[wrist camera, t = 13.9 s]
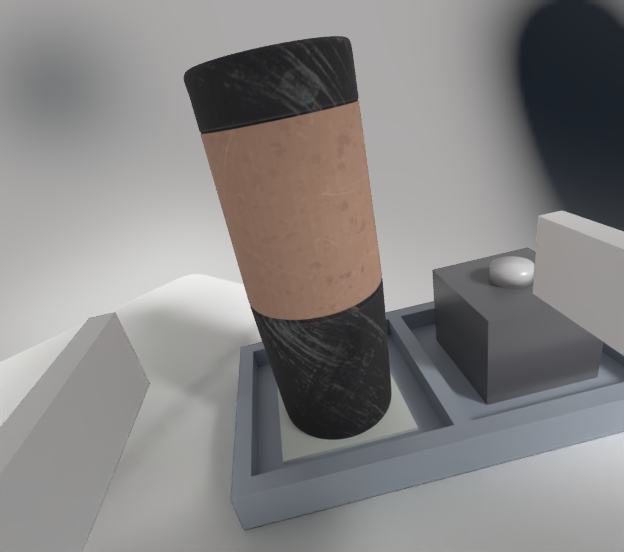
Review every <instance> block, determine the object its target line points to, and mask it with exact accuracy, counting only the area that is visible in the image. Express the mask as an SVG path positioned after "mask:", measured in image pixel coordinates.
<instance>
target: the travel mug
mask: <svg viewBox="0 0 624 552" xmlns="http://www.w3.org/2000/svg"><path fill="white" fill-rule="evenodd" d="M184 82H185V85H186V88H187V91H188V93H189V96H190V100H191V103H192V107H193V110H194V114H195V117H196V120H197V124H198V127H199V131H200V132H201V138H202V141H203V144H204V148H205V151H206V155H207V158H208V162H209V165H210V169H211V172H212V176H213V179H214V182H215V186H216V190H217V193H218V196H219V200H220V203H221V207H222V210H223V214H224V217H225V220H226V224H227V227H228V231H229V234H230V238H231V241H232V244H233V248H234V252H235V255H236V259H237V262H238V266H239V269H240V272H241V276H242V279H243V283H244V286H245V290H246V293H247V297H248V300H249V303H250V305H251V309H252V312H253V315H254V318H255V321H256V324H257V327H258V330H259V333H260V336H261V339H262V342H263V345H264V348H265V351H266V354H267V357H268V359H269V362H270V365H271V368H272V371H273V374H274V377H275V380H276V383H277V386H278V389H279V392H280V395H281V398H282V400H283V403H284V406H285V409H286V411H287V414H288V416H289V418H290V420H291V421H292V422H293V424H294V425H295V426H296V427H297V428H298V429H299V430H301V431H302V432H304V433H306V434H308V435H310V436H313V437H316V438H320V439H327V440H338V439H346V438H350V437H354V436H356V435H359V434H361V433H364V432H366V431H367V430H369V429H371V428H372V427H373V426H375V425H376V424H377V423H378V422H379V421H380V420H381V419H382V418H383V417H384V415H385V414H386V412H387V410H388V408H389V405H390V402H391V396H392V392H391V375H390V363H389V351H388V340H387V328H386V316H385V305H384V294H383V282H382V272H381V264H380V256H379V249H378V241H377V234H376V226H375V219H374V212H373V204H372V196H371V189H370V181H369V174H368V166H367V158H366V151H365V144H364V137H363V129H362V121H361V113H360V106H359V101H358V91H357V84H356V75H355V68H354V61H353V53H352V47H351V43H350V40H349V39H348V38H346V37H340V36H331V37H319V38H310V39H303V40H297V41H291V42H285V43H280V44H274V45H269V46H265V47H260V48H256V49H251V50H247V51H243V52H239V53H235V54H231V55H227V56H224V57H220V58H217V59H214V60H211V61H208V62H205V63H202V64H199V65H197V66H194V67H192V68H191V69H189V70H187V71H186V72H185V74H184Z"/></svg>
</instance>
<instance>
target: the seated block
mask: <svg viewBox="0 0 624 552" xmlns="http://www.w3.org/2000/svg"><path fill="white" fill-rule="evenodd" d="M535 255H536V252H535V251H533V250H531V249H529V248H524V249H520V250H515V251H511V252H507V253H502V254H498V255H494V256H490V257H486V258H481V259H477V260H473V261H468V262H465V263H460V264H456V265H451V266H447V267H443V268H438V269H434V270H433V287H434V305H435V323H436V340H437V341H438V342H439V344H440V345H441V346H442V348H443V349H444V350H445V351H446V353H447V354H448V355H449V357H450V358H451V359H452V360H453V362H454V363H455V364H456V366H457V367H458V368H459V369H460V371H461V372H462V373H463V375H464V376H465V377H466V378H467V380H468V381H469V382H470V384H471V385H472V386H473V387H474V389H475V390H476V391H477V393H478V394H479V395H480V396H481V398H482V399H483V400H484V402H485V403H486V404H487V405H490V404H494V403H498V402H502V401H506V400H510V399H514V398H518V397H522V396H525V395H529V394H533V393H537V392H541V391H545V390H549V389H553V388H557V387H561V386H565V385H569V384H573V383H577V382H581V381H585V380H589V379H593V378H597V377H598V371H599V365H600V360H601V354H602V348H603V343H604V342H603V341H601V340H600V339H599V338H597V337H596V336H594V335H593V334H591V333H590V332H588V331H587V330H585V329H584V328H582V327H581V326H580V325H578V324H577V323H575V322H574V321H572V320H571V319H569V318H568V317H566V316H565V315H563V314H562V313H560V312H559V311H558V310H556V309H555V308H553V307H552V306H550V305H549V304H547V303H546V302H544V301H543V300H541V299H540V298H539V297H537V296H536V295H534V294H533V282H534V268H535Z"/></svg>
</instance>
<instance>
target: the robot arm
mask: <svg viewBox="0 0 624 552" xmlns="http://www.w3.org/2000/svg"><path fill="white" fill-rule="evenodd" d="M533 294H534V295H536V296H537V297H539V298H540V299H541V300H543V301H544V302H546V303H547V304H549V305H550V306H552V307H553V308H555V309H556V310H558V311H559V312H560V313H562V314H563V315H565V316H566V317H568V318H569V319H571V320H572V321H574V322H575V323H577V324H578V325H580V326H581V327H582V328H584V329H585V330H587V331H588V332H590V333H591V334H593V335H594V336H596V337H597V338H599V339H600V340H601V341H603V342H604V343H606V344H607V345H609V346H610V347H612V348H613V349H615V350H616V351H618V352H619V353H620V354H622V355H623V356H624V232H623V231H620V230H617V229H614V228H612V227H608V226H606V225H603V224H600V223H596V222H594V221H591V220H588V219H585V218H582V217H579V216H576V215H574V214H571V213H568V212H565V211H558V212H553V213H549V214H545V215H540V216H538V227H537V241H536V255H535V268H534V282H533ZM149 384H150V383H149V381H148V379H147V377H146V375H145V373H144V371H143V368H142V366H141V364H140V362H139V360H138V358H137V356H136V354H135V352H134V350H133V348H132V346H131V344H130V342H129V340H128V338H127V336H126V334H125V331H124V329H123V327H122V325H121V323H120V321H119V319H118V317H117V315H116V313H115V312H114V313H110V314H105V315H101V316H96V317H92V318H89V319H88V320H87V322H86V323H85V324H84V325H83V327H82V328H81V329H80V330H79V332H78V333H77V334H76V335H75V336H74V338H73V339H72V340H71V341H70V343H69V344H68V345H67V346H66V348H65V349H64V350H63V351H62V352H61V354H60V355H59V356H58V357H57V359H56V360H55V361H54V362H53V364H52V365H51V366H50V367H49V369H48V370H47V371H46V372H45V373H44V375H43V376H42V377H41V378H40V380H39V381H38V382H37V383H36V385H35V386H34V387H33V388H32V389H31V391H30V392H29V393H28V394H27V396H26V397H25V398H24V399H23V401H22V402H21V403H20V404H19V406H18V407H17V408H16V409H15V410H14V412H13V413H12V414H11V415H10V417H9V418H8V419H7V420H6V422H5V423H4V424H3V425H2V426H1V428H0V552H82V551H83V549H84V546H85V544H86V541H87V539H88V536H89V534H90V531H91V529H92V526H93V524H94V521H95V519H96V516H97V514H98V511H99V509H100V506H101V504H102V501H103V499H104V496H105V494H106V491H107V489H108V486H109V484H110V481H111V479H112V477H113V474H114V472H115V469H116V467H117V464H118V462H119V459H120V457H121V454H122V452H123V449H124V447H125V444H126V442H127V439H128V437H129V434H130V432H131V429H132V427H133V424H134V422H135V419H136V417H137V414H138V412H139V409H140V407H141V404H142V402H143V399H144V397H145V394H146V392H147V389H148V387H149Z"/></svg>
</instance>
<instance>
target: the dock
mask: <svg viewBox="0 0 624 552" xmlns="http://www.w3.org/2000/svg"><path fill="white" fill-rule="evenodd" d="M385 316H386V328H387V340H388V351H389V363H390V375H391V392H392V396H391V402H390V405H389V408H388V410H387V412H386V414H385V415H384V417H383V418H382V419H381V420H380V421H379V422H378V423H377V424H376V425H375V426H373V427H372V428H371V429H369V430H367V431H366V432H364V433H361V434H359V435H356V436H354V437H350V438H346V439H338V440H327V439H320V438H316V437H313V436H310V435H308V434H306V433H304V432H302V431H301V430H299V429H298V428H297V427H296V426H295V425H294V424H293V422H292V421H291V420H290V418H289V416H288V414H287V411H286V409H285V406H284V403H283V400H282V398H281V395H280V392H279V389H278V386H277V383H276V380H275V377H274V374H273V371H272V368H271V365H270V362H269V359H268V357H267V354H266V351H265V348H264V345H263V342H260V343H256V344H252V345H248V346H244V347H241V353H240V368H239V383H238V398H237V412H236V427H235V442H234V457H233V472H232V487H231V502H232V504H233V506H234V508H235V511H236V513H237V515H238V517H239V520H240V522H241V524H242V526H243V529H244V530H246V529H250V528H254V527H258V526H262V525H266V524H269V523H273V522H277V521H281V520H285V519H289V518H293V517H296V516H300V515H304V514H308V513H312V512H316V511H319V510H323V509H327V508H331V507H335V506H339V505H343V504H346V503H350V502H354V501H358V500H362V499H366V498H370V497H373V496H377V495H381V494H385V493H389V492H393V491H397V490H400V489H404V488H408V487H412V486H416V485H420V484H424V483H427V482H431V481H435V480H439V479H443V478H447V477H451V476H454V475H458V474H462V473H466V472H470V471H474V470H478V469H481V468H485V467H489V466H493V465H497V464H501V463H505V462H508V461H512V460H516V459H520V458H524V457H528V456H532V455H535V454H539V453H543V452H547V451H551V450H555V449H559V448H562V447H566V446H570V445H574V444H578V443H582V442H585V441H589V440H593V439H597V438H601V437H605V436H609V435H612V434H616V433H620V432H624V356H623V355H622V354H620V353H619V352H618V351H616V350H615V349H613V348H612V347H610V346H609V345H607V344H606V343H603V348H602V354H601V360H600V365H599V371H598V377H597V378H593V379H589V380H585V381H581V382H577V383H573V384H569V385H565V386H561V387H557V388H553V389H549V390H545V391H541V392H537V393H533V394H529V395H525V396H522V397H518V398H514V399H510V400H506V401H502V402H498V403H494V404H490V405H487V404H486V403H485V402H484V400H483V399H482V398H481V396H480V395H479V394H478V393H477V391H476V390H475V389H474V387H473V386H472V385H471V384H470V382H469V381H468V380H467V378H466V377H465V376H464V375H463V373H462V372H461V371H460V369H459V368H458V367H457V366H456V364H455V363H454V362H453V360H452V359H451V358H450V357H449V355H448V354H447V353H446V351H445V350H444V349H443V348H442V346H441V345H440V344H439V342H438V341H437V340H436V323H435V305H434V301H433V302H429V303H424V304H420V305H416V306H412V307H407V308H404V309H399V310H395V311H391V312H386V313H385Z"/></svg>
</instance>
